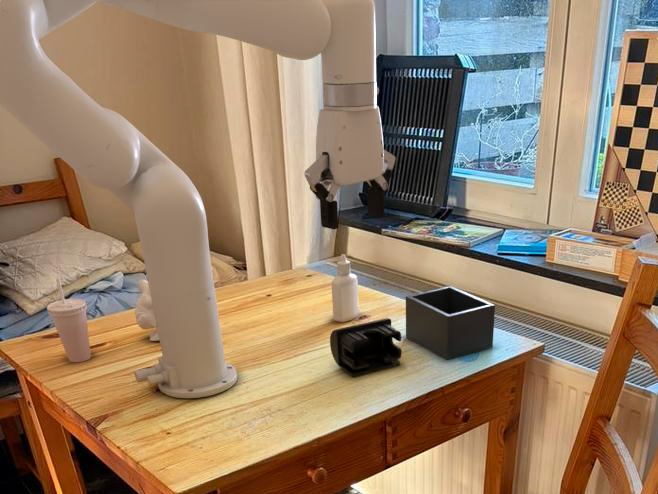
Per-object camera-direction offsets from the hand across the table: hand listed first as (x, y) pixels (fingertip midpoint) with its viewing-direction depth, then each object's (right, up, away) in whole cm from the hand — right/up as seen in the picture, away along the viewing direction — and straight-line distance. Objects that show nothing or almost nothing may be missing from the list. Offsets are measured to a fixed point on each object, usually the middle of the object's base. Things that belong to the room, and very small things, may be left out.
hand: (353, 221), depth 115 cm
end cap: (+2, -21, +9) cm, 23 cm away
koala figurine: (-36, -13, +23) cm, 45 cm away
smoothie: (-48, -18, +17) cm, 54 cm away
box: (+16, -16, +16) cm, 28 cm away
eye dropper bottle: (-2, -9, +29) cm, 30 cm away
